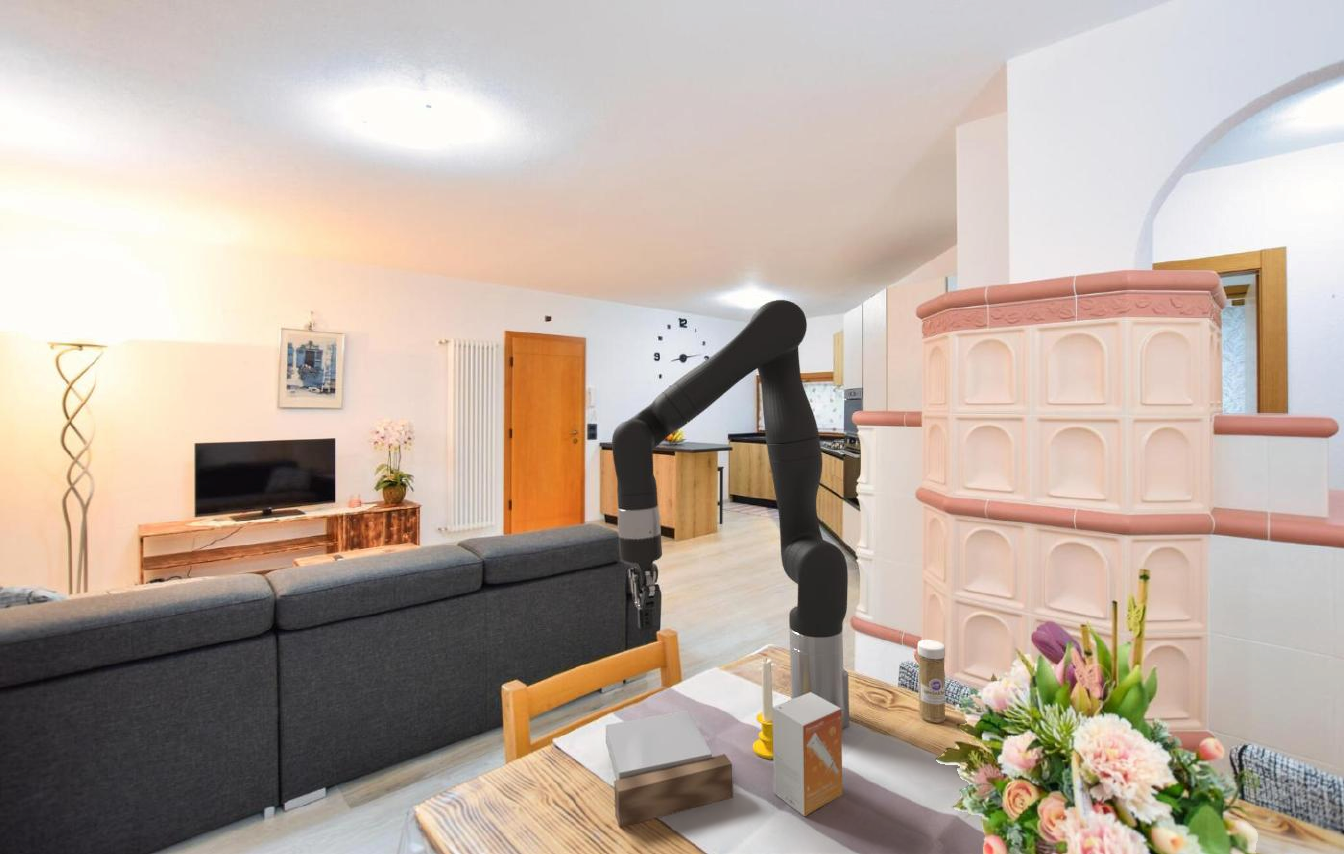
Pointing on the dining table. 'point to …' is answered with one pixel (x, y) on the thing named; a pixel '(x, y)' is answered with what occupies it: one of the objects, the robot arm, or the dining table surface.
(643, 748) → the slab
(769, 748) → the candle
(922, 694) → the sprinkles bottle
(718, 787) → the rail
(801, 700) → the small box
